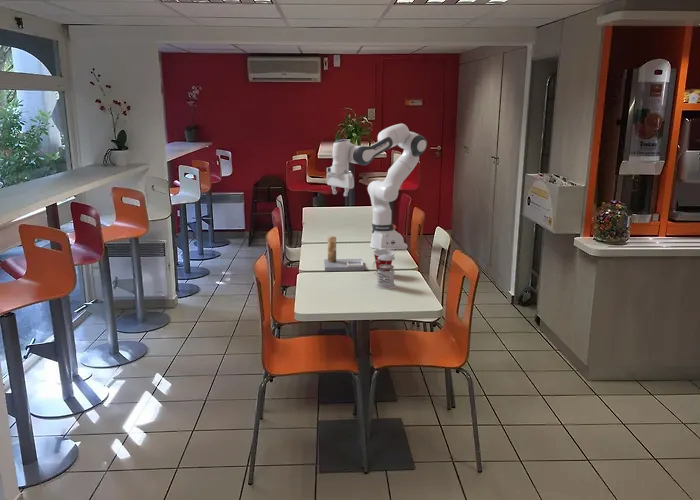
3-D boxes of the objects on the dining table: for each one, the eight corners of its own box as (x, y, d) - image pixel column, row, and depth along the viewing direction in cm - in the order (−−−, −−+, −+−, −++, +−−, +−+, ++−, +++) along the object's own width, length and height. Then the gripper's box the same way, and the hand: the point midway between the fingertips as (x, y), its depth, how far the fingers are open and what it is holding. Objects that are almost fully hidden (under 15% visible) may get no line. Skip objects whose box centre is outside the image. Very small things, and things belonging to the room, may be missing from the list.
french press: (390, 290, 266) (391, 237, 260) (368, 286, 272) (368, 234, 266) (399, 285, 274) (401, 233, 268) (378, 281, 280) (379, 230, 274)
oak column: (336, 260, 311) (336, 236, 307) (336, 262, 306) (336, 238, 303) (327, 260, 310) (327, 236, 307) (327, 262, 306) (327, 238, 303)
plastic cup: (379, 279, 284) (380, 255, 281) (368, 273, 293) (369, 250, 290) (398, 276, 289) (399, 252, 286) (387, 271, 298) (387, 248, 295)
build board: (361, 262, 314) (361, 257, 313) (364, 270, 299) (364, 264, 298) (324, 262, 313) (324, 257, 312) (324, 271, 297) (324, 265, 297)
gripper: (357, 171, 311) (356, 196, 315) (333, 167, 327) (333, 192, 330) (347, 171, 307) (347, 197, 311) (324, 168, 323) (324, 193, 326)
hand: (340, 195), depth 320 cm, fingers open, 8 cm apart
